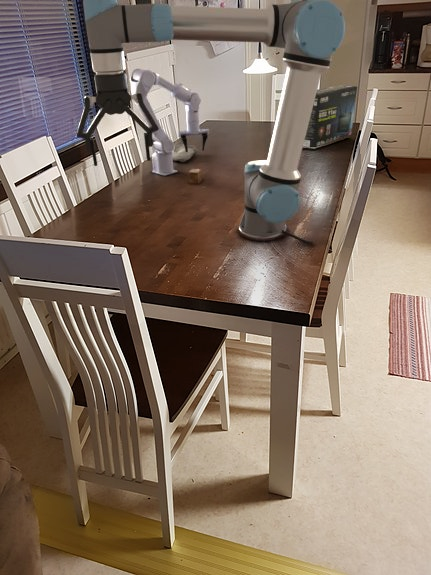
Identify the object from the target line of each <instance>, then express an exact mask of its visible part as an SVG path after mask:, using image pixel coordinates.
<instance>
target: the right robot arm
mask: <svg viewBox="0 0 431 575" xmlns="http://www.w3.org/2000/svg"><path fill="white" fill-rule="evenodd" d="M82 3H83V12H84V13H83V14H84V23H85V29H86V34H87V40H88V47H89V52H90V59H91V66H92V71H93V72H94V73H95V74H94V78H93V80H94V84H95V90H96V96H90V95H85V96H84V98H83V99H84V100H83V101H84V107H83V111H82V114H81V118H80V120H79V124H78V127H77V131H76V137H77V139H78V138H79V139H83V140H84V142H85V146H86V147H85V148H86V151H87V153H91V154H92V160H93V166H94V167H97V166H98V158H97V154H96V147H95V142H94V141H95V140H94V137H92V136H93V134H94V132H95V131H96V129H97V127H98V126H99V124H100V123H101V121H102V119H103V118H104V117H105V115H106V114H107V115H109V116H113V115H123V114H125V113H126V114H127V115H128V116H129V117H130V118H131V119H133V121H135V122H136V124H137V125H138V126H139V127H140V128H142V129H143V130H144V131H145V132H143V139H144V147H145V155H146V156H145V158H146V160H147V162H150V161H151V151H150V148H153V139H152V133H153V132H155V131H158V130H159V128H158V126H157V124H156V123H155V121H154V119H153V118H152V116H151V114H150V113H149V111H148V109H147V108H146V106H145V104H144V103H143V98H142V95H141V93H140V92H137V93H135V94H132V93H131V94H130V92H129V86H128V78H127V73H126V72H125V70H126V61H125V54H124V53H125V52H124V47H123V46H124V45H123V44H130V43H162V42H169V41H194V42H195V41H196V42H197V41H199V42H235V43H263V44H264V46H265V47H268V48H280V49H284V51H283V54H282V61H283V63H284V65H285V66H286V70H285V76H284V79H283V84H282V88H281V93H280V97H279V98H280V99H279V104H278V107H277V111H276V117H275V122H274V127H273V130H272V131H273V132H272V136H271V140H270V145H269V149H268V154H267V159H261V160H259V159H258V160H252V161H249V162H247V163H246V164H245V165H244V172H243V175H244V211H243V213H242V216H241V220H240V222H239V226H238V232H239V235H240V236H241V237H242V238H244V239H247V240H250V241H254V242H271V241H277V240H279V239H281V238H283V237H285V235H286V236H288V237H291V238H293V239H295V240H297V241H299V242H301V243H304V244H305V245H306V244H307V245H311V246H313V244H314V242H313V241H309V240H307V239H304V238H301V237H299V236H297V235H295V234H293V233H291V232H289V231H287V223H286V222H288V221H289V220H290V219H292V218H293V217H294V216H296V214H297V213H298V211H299V208H300V205H301V197H300V194H299V192H298V190H299V187H300V183H301V179H302V174H301V172H300V171H299V170H298V169H299V165H300V159H301V155H302V151H303V144H304V140H305V136H306V132H307V128H308V124H309V120H310V116H311V112H312V108H313V104H314V100H315V96H316V92H317V90H318V89H319V84H320V80H321V76H322V74H323V73H324V72H325V71H327V70H328V69H329V68H330V65H331V61H332V57H333V54H334V53H335V52H336V51H337V50H338V49H339V48H340V46H341V45H342V43H343V40H344V38H345V33H346V21H345V17H344V14H343V12H342V10H341V9H340V7H339V6H338V5H336V4H335V3H334V2H332V1H331V0H298V1H295V2H290V3H289V2H288V3H282V4H271V3H270V4H268V6H266V7H265V8H252V7H248V8H247V7H221V6H219V7H218V6H217V7H215V6H187V5H186V6H184V5H170V4H169V3H159V2H154V3H141V4H140V3H139V4H119V2H118V0H83V2H82ZM132 100H133V102H134V101H135V102H136V103H139V105H140V107H141V109H142V110H143V112H144V114H145V115H146V117H147V119H148V120H149V122H150V124H151V125H152V126H151V127H148V126H147V125H146V123H145V121H144V120H143V119H142V118H141V117H140V116H139V115H138V114H137V113H136V112H135V111H134V110H133V109H132V108H131V107H130V106H129V105H130V103H131V102H132ZM135 102H134V103H135ZM95 103H96V104H97V106H98V107H100V109H99V110H98V112H97V114H96V115H95V116H94V118H93V120H92V122H91V123H90V125H89V127H88V128H87V129H86V131H85V132H84V130H85V127H86V124H87V120H88V116H89V113H90V109H91V107H93V106H94V104H95Z"/></svg>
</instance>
